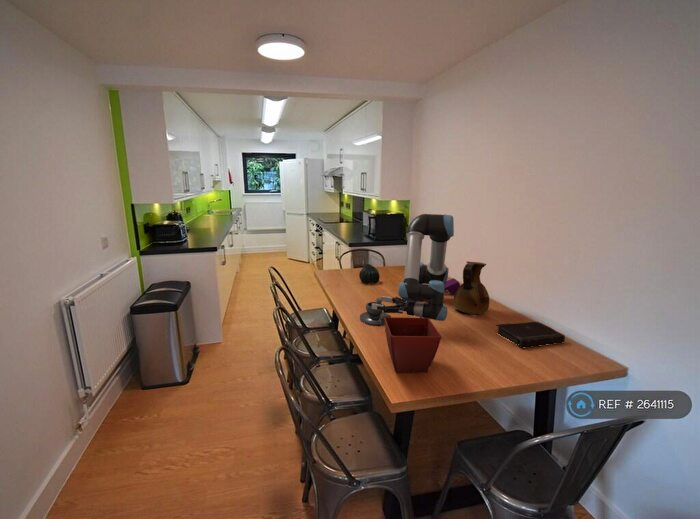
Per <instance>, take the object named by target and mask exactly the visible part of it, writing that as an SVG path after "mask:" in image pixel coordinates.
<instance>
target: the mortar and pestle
mask: <svg viewBox="0 0 700 519" xmlns="http://www.w3.org/2000/svg"><path fill="white" fill-rule="evenodd" d="M382 302H383V301H382V299H381V297H378V298H377V299H376V301H369V302H367V303H365V309H366V310H365V312H368V313H369V317H370V318H372V319H378V318H380V314H381V313H382V312H383V311H382V310H376V309H372V303H374V304H379V305H385V304H384V303H382Z"/></svg>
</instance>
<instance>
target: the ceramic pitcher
mask: <svg viewBox="0 0 700 519" xmlns="http://www.w3.org/2000/svg"><path fill="white" fill-rule="evenodd" d="M485 266H487V263H485V262H481V261H478V262H477V261H468V260H467V261H466V264H465V265H464V267H463V269H462V282H463V283H461V284H460V287H459V288H458V290H457V291H456V293H455V295H453V299H452V306H453V307H454V308H455V309H456V310H457V311H458V310H459V311H460V312H462V313H465V314H468V315H473V316H478V315H480V314H485V313H487V312H488V310H489V307H490V294H489V292H488V290H487V288H486V287H485V285H484V284H483V283H482V280H481V273H482V270H483V268H484V267H485Z"/></svg>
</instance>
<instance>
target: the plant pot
mask: <svg viewBox="0 0 700 519" xmlns="http://www.w3.org/2000/svg"><path fill="white" fill-rule="evenodd" d="M384 319H385V325H384V327H385V337H386V343H387V348H388V351H389V355H390V356H389V357H390V360H391V363H392V365H393V368H394V369H393V370H394V371H395V373H417V372H419V373H420V372H422V373H423V372H426V373H427V372H428V371H429V369H430V367H431V365H432V364H433V362H434V359H435V357H436V355H437V352H438V349H439V346H440V343H441V339H442V335H441V334H440V332H439V331H438V329H437V328H436V326H435V325H434V324H433V322H432V321H431V319H429V318H423V317H422V318H420V317H399V316H398V317H392V316H391V317H385V318H384ZM419 373H418V374H419ZM422 373H421V374H422ZM423 374H424V373H423Z"/></svg>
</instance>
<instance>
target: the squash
mask: <svg viewBox="0 0 700 519" xmlns="http://www.w3.org/2000/svg"><path fill="white" fill-rule="evenodd" d="M380 277H381V276H380V272H379V270H378V268H376V267H375V266H373V265H372V264H370V263H366V264H365V265H364V266H363V267H362V268H361V269H360V270H359V276H358V278H359V280H360V282H361V283H363V284H365V285H369V284H374V285H375V284H377V283H379V281H380Z"/></svg>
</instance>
